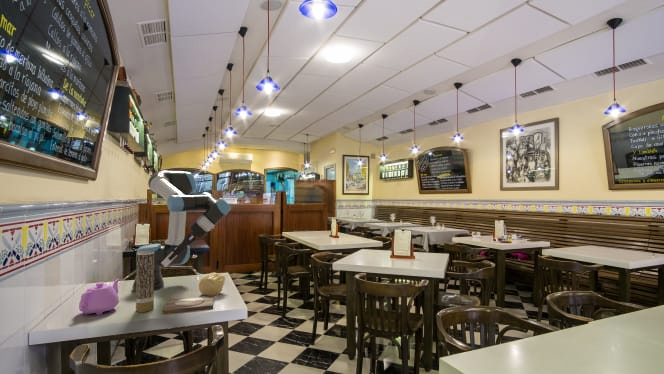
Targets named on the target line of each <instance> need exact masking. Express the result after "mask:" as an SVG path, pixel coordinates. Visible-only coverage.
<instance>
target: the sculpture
mask: <svg viewBox="0 0 664 374" xmlns="http://www.w3.org/2000/svg"><path fill="white" fill-rule="evenodd" d="M225 280H226V277H225V275H223V274H221V273H218V272H211V273H207V274H205V275H204V276H202V277H201V278H200V281H199V283H198V289H199V292H200V294H201V295H202V296H203V295H204V296H217V295H219V294H221V292H222V291H223V287H224V284H225V282H226V281H225Z"/></svg>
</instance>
